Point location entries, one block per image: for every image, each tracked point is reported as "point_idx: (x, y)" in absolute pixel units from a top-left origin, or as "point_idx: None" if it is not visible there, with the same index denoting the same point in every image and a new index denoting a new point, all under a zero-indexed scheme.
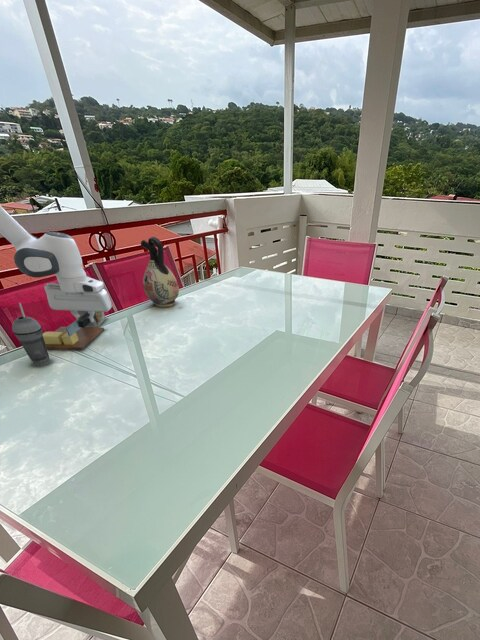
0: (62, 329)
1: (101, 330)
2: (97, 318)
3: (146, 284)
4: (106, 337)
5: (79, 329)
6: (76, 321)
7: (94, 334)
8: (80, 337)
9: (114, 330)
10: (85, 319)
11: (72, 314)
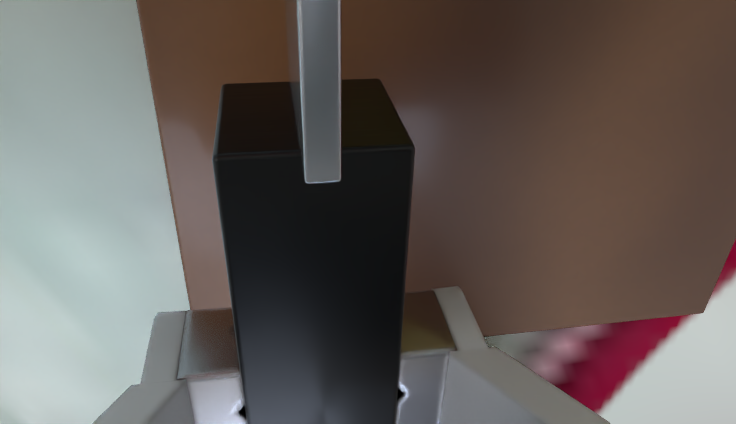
0: (675, 245)
1: (191, 301)
2: None
3: None
4: (17, 144)
5: (478, 273)
6: (295, 21)
7: (184, 149)
8: (349, 12)
9: (72, 354)
10: (233, 307)
11: (571, 397)
